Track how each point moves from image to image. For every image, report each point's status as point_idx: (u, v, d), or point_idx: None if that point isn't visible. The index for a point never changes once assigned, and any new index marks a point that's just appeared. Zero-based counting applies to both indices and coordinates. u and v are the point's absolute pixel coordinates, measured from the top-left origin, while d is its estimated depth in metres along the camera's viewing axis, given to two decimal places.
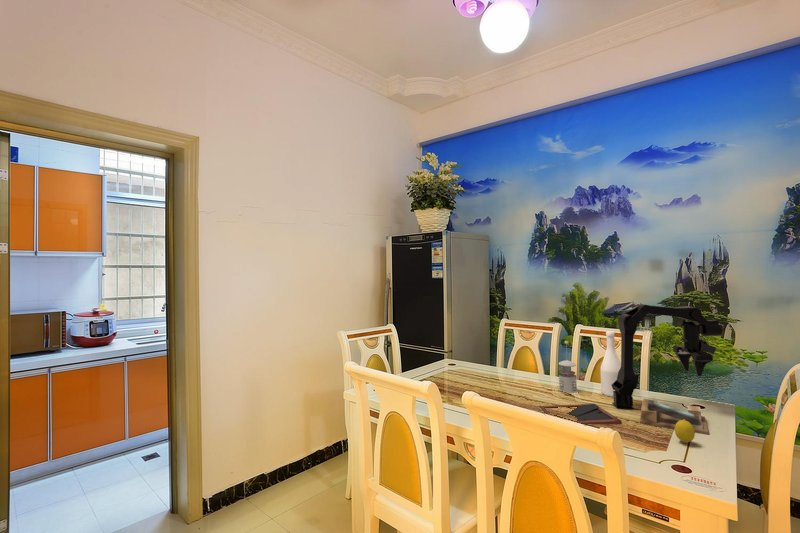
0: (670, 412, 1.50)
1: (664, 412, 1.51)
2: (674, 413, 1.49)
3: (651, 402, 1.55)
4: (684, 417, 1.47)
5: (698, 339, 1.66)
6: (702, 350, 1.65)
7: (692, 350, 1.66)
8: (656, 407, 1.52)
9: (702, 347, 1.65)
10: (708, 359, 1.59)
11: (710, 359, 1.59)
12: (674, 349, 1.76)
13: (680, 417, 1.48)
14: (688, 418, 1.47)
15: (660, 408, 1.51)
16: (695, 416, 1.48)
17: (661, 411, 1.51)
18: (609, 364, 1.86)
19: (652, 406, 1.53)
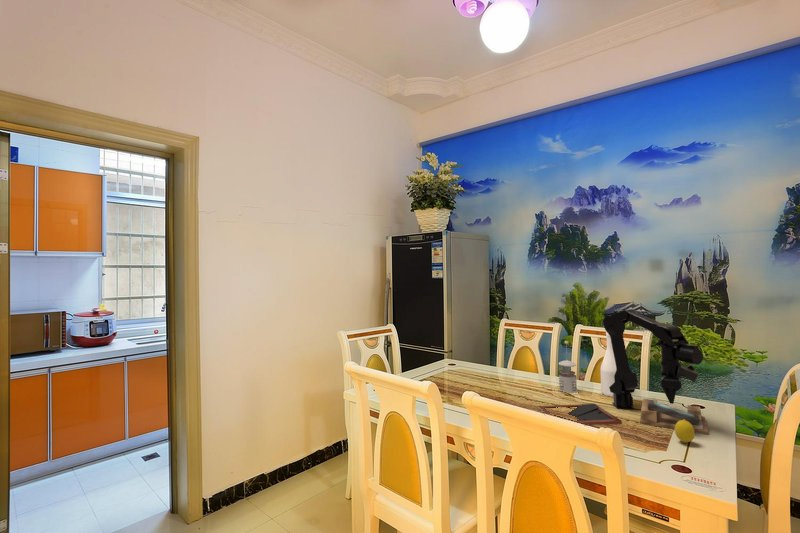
0: (670, 412, 1.50)
1: (664, 412, 1.51)
2: (674, 413, 1.49)
3: (651, 402, 1.55)
4: (684, 417, 1.47)
5: (674, 363, 1.49)
6: (678, 375, 1.48)
7: (667, 374, 1.50)
8: (656, 407, 1.52)
9: (678, 372, 1.48)
10: (674, 385, 1.43)
11: (676, 386, 1.43)
12: None
13: (680, 417, 1.48)
14: (688, 418, 1.47)
15: (660, 408, 1.51)
16: (695, 416, 1.48)
17: (661, 411, 1.51)
18: (609, 364, 1.86)
19: (652, 406, 1.53)
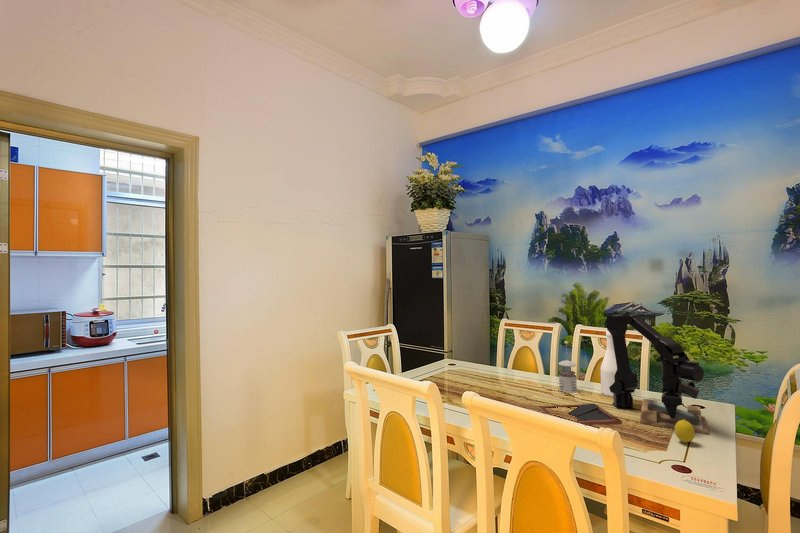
0: None
1: (664, 412, 1.51)
2: None
3: (651, 402, 1.55)
4: (684, 417, 1.47)
5: (675, 379, 1.49)
6: (679, 392, 1.48)
7: (667, 390, 1.50)
8: (656, 407, 1.52)
9: (679, 389, 1.48)
10: (674, 402, 1.43)
11: (677, 403, 1.43)
12: (662, 387, 1.60)
13: (680, 417, 1.48)
14: (688, 418, 1.47)
15: (660, 408, 1.52)
16: (695, 416, 1.48)
17: (661, 411, 1.51)
18: (609, 364, 1.86)
19: (652, 406, 1.53)
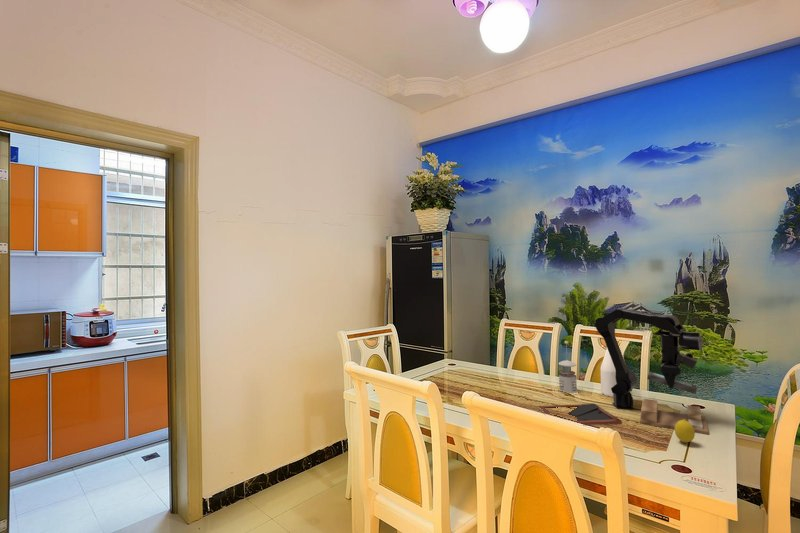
0: None
1: (663, 382, 1.58)
2: None
3: (651, 373, 1.62)
4: (682, 386, 1.54)
5: (674, 350, 1.56)
6: (678, 362, 1.55)
7: (666, 361, 1.57)
8: (655, 378, 1.59)
9: (678, 359, 1.54)
10: (673, 371, 1.50)
11: (676, 372, 1.50)
12: None
13: (678, 386, 1.55)
14: (686, 387, 1.53)
15: (659, 378, 1.58)
16: (693, 386, 1.55)
17: (660, 381, 1.58)
18: (609, 364, 1.86)
19: (652, 377, 1.60)
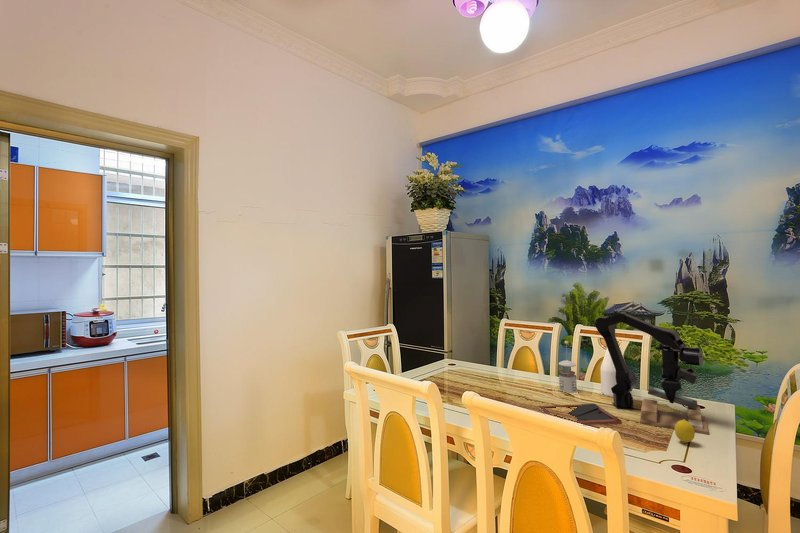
0: None
1: (664, 397, 1.57)
2: None
3: (651, 388, 1.62)
4: (683, 402, 1.54)
5: (674, 365, 1.55)
6: (678, 378, 1.54)
7: (667, 376, 1.57)
8: (656, 392, 1.59)
9: (678, 374, 1.54)
10: (674, 387, 1.50)
11: (676, 388, 1.50)
12: None
13: (679, 402, 1.55)
14: (687, 402, 1.53)
15: (660, 393, 1.58)
16: (693, 401, 1.55)
17: (661, 396, 1.58)
18: (609, 364, 1.86)
19: (652, 391, 1.60)
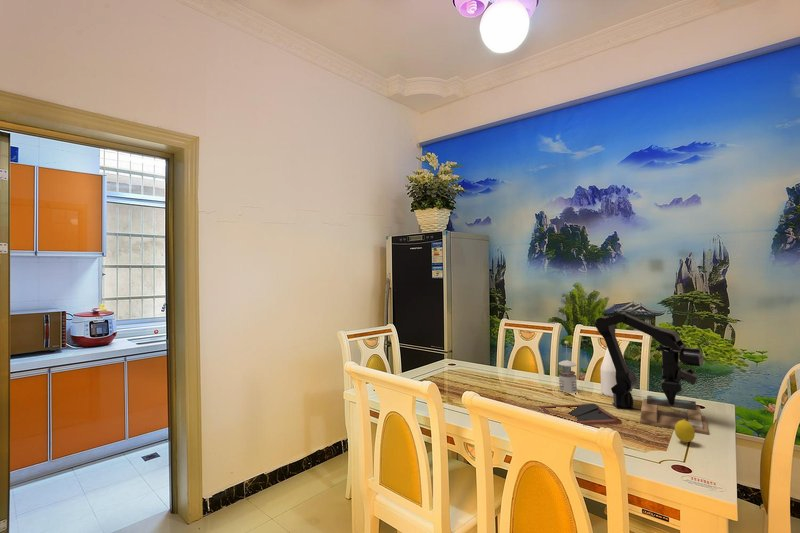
0: (668, 403, 1.57)
1: (663, 404, 1.58)
2: None
3: (649, 397, 1.62)
4: (682, 405, 1.54)
5: (674, 366, 1.55)
6: (678, 378, 1.54)
7: (667, 377, 1.57)
8: (654, 401, 1.59)
9: (678, 375, 1.54)
10: (674, 388, 1.50)
11: (676, 388, 1.50)
12: None
13: (678, 406, 1.55)
14: (685, 405, 1.54)
15: (658, 401, 1.59)
16: (692, 402, 1.55)
17: (660, 404, 1.58)
18: (609, 364, 1.86)
19: (651, 401, 1.60)
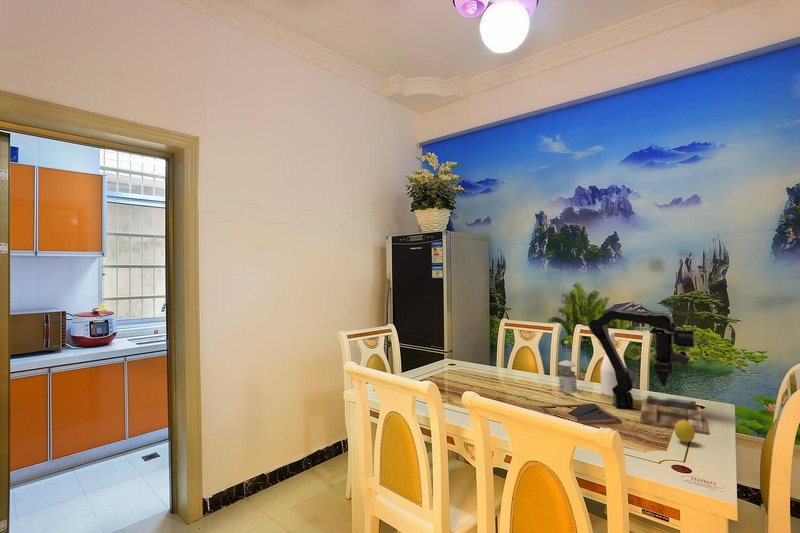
0: (668, 403, 1.57)
1: (663, 404, 1.58)
2: (672, 403, 1.56)
3: (649, 397, 1.62)
4: (682, 405, 1.54)
5: (667, 348, 1.59)
6: (671, 360, 1.58)
7: (660, 359, 1.60)
8: (654, 401, 1.59)
9: (671, 357, 1.58)
10: (666, 368, 1.54)
11: (668, 369, 1.53)
12: None
13: (678, 406, 1.55)
14: (685, 405, 1.54)
15: (658, 401, 1.59)
16: (692, 402, 1.55)
17: (660, 404, 1.58)
18: (609, 364, 1.86)
19: (651, 401, 1.60)
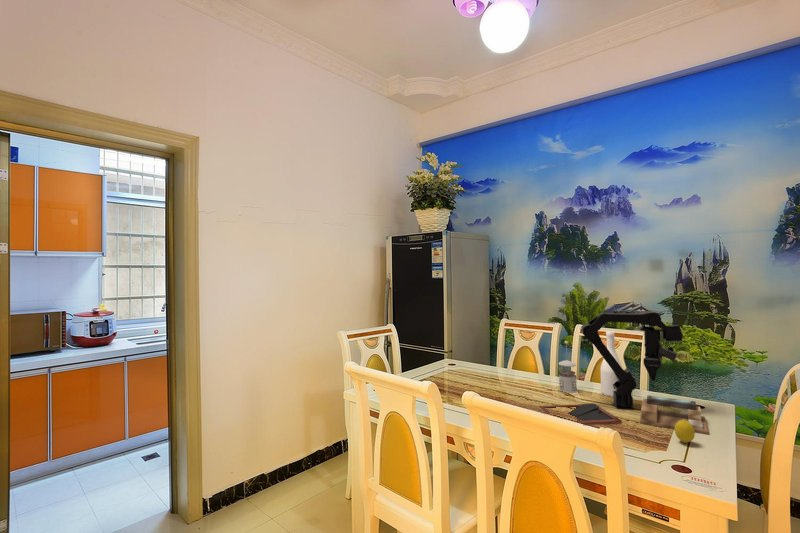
0: (668, 403, 1.57)
1: (663, 404, 1.58)
2: (672, 403, 1.56)
3: (649, 397, 1.62)
4: (682, 405, 1.54)
5: (656, 344, 1.66)
6: (659, 355, 1.65)
7: (649, 355, 1.67)
8: (654, 401, 1.59)
9: (659, 352, 1.65)
10: (655, 363, 1.61)
11: (657, 364, 1.60)
12: None
13: (678, 406, 1.55)
14: (685, 405, 1.54)
15: (658, 401, 1.59)
16: (692, 402, 1.55)
17: (660, 404, 1.58)
18: None
19: (651, 401, 1.60)
